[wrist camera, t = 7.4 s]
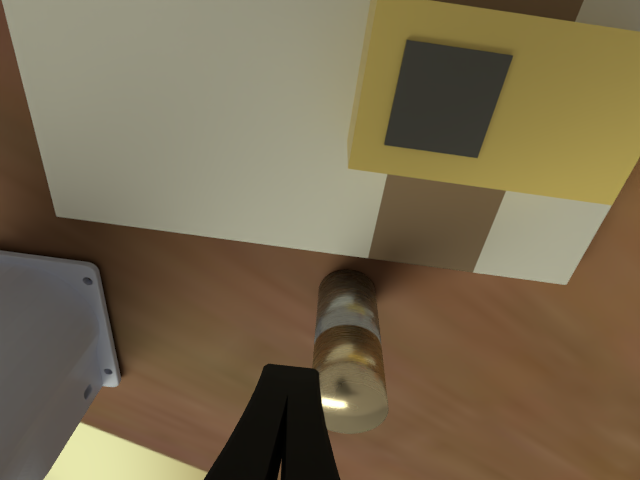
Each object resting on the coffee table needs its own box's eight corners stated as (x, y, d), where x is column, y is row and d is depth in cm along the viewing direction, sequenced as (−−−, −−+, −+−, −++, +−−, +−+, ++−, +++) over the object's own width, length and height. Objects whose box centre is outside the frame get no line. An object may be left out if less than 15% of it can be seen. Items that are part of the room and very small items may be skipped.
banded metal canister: (369, 317, 22) (379, 437, 16) (315, 310, 22) (304, 428, 16) (380, 273, 20) (396, 388, 14) (322, 266, 20) (313, 378, 14)
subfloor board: (556, 272, 20) (566, 284, 19) (69, 206, 19) (56, 216, 18) (801, -178, 11) (839, -193, 10) (-52, -318, 11) (-86, -345, 10)
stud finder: (568, 172, 16) (614, 207, 13) (347, 140, 16) (347, 170, 13) (636, 33, 13) (710, 42, 11) (371, -7, 13) (378, -8, 10)
